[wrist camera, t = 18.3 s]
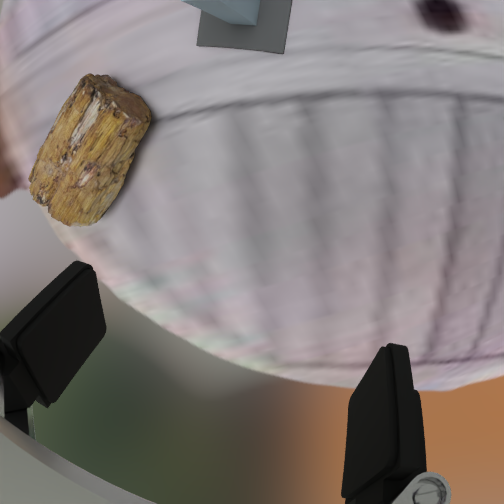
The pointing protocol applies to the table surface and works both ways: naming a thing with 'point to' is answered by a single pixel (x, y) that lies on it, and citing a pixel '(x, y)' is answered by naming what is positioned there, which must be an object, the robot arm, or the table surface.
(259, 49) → the mat
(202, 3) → the panel
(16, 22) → the table surface
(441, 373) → the table surface
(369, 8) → the table surface
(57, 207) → the petrified wood
